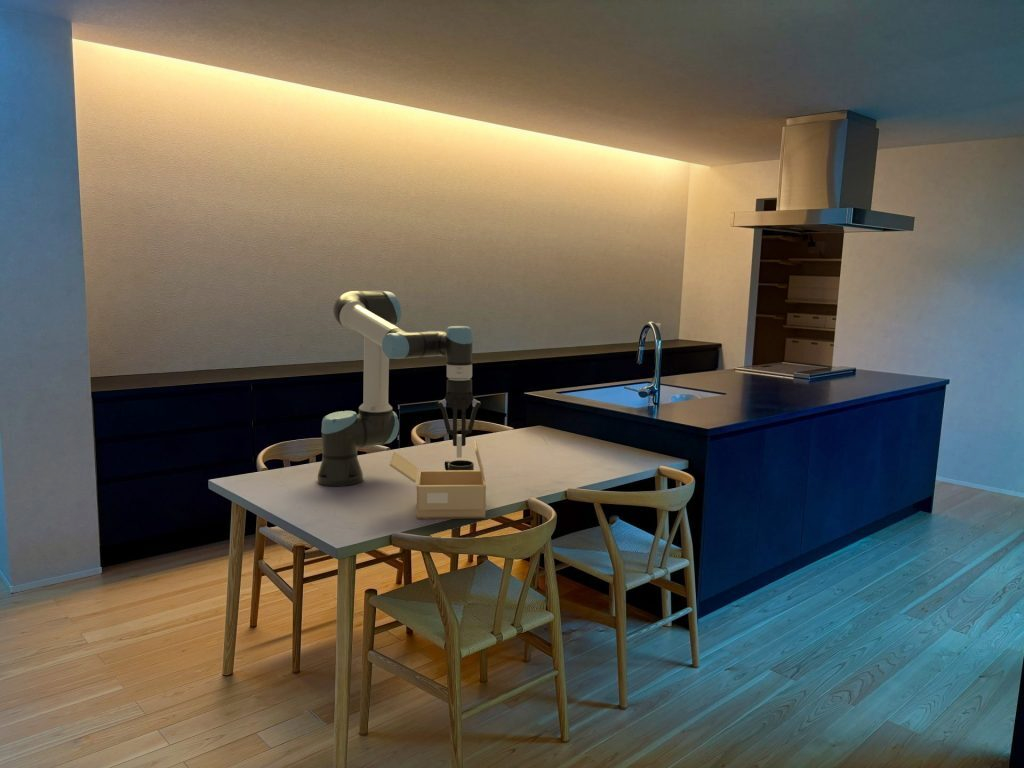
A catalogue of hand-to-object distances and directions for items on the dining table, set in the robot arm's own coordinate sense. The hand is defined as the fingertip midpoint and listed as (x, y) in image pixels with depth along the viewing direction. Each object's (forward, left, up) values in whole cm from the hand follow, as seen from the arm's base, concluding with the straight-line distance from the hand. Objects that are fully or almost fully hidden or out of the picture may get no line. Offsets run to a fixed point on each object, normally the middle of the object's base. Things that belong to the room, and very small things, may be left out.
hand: (459, 456), depth 220 cm
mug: (0, +21, -17) cm, 27 cm away
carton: (-2, 0, -17) cm, 17 cm away
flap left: (-12, 0, -6) cm, 14 cm away
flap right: (+7, 0, -6) cm, 10 cm away
